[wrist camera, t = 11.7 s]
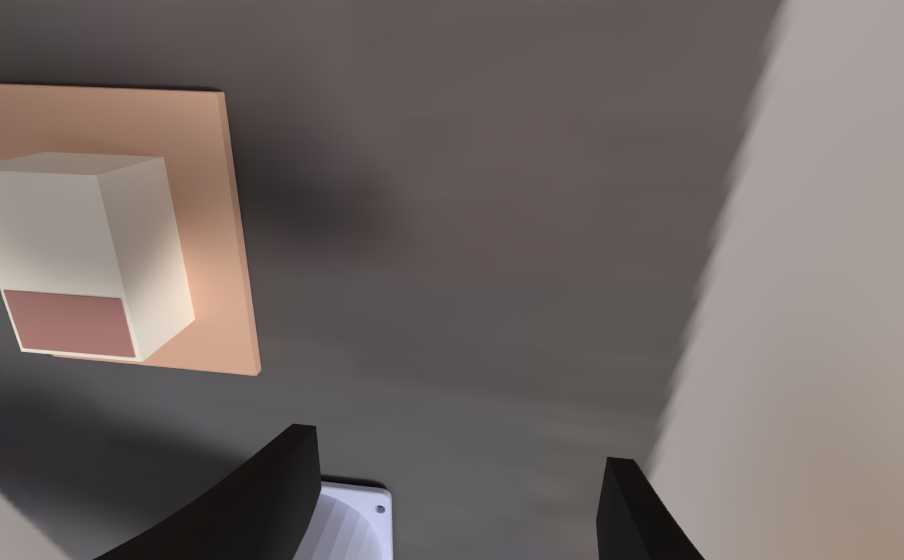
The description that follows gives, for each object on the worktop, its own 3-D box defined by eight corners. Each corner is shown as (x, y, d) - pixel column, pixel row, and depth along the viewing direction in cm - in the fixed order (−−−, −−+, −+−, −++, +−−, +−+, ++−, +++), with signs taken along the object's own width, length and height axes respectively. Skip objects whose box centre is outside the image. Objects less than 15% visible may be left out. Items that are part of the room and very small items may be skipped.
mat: (261, 369, 24) (256, 375, 24) (61, 350, 25) (53, 355, 25) (223, 91, 20) (217, 92, 19) (-20, 82, 21) (-32, 83, 20)
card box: (163, 156, 20) (94, 175, 17) (194, 319, 23) (140, 362, 20) (45, 151, 21) (-43, 169, 18) (89, 311, 24) (19, 352, 20)
